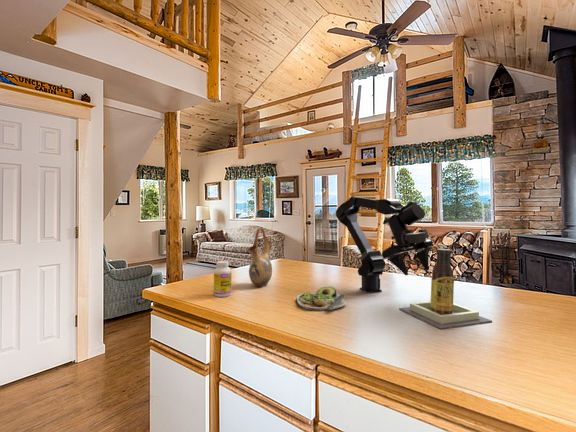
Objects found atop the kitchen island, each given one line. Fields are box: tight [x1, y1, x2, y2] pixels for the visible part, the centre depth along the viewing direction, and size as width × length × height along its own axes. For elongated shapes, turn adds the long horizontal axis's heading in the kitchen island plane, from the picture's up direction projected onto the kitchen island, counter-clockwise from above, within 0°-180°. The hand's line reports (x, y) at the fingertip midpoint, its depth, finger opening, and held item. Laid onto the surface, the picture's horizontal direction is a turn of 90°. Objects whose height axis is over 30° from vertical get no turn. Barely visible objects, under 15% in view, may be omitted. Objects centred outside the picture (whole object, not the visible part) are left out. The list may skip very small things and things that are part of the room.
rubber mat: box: [399, 306, 493, 330], centre depth 98 cm, size 18×18×1 cm
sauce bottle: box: [430, 248, 455, 315], centre depth 98 cm, size 7×6×20 cm
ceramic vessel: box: [247, 227, 273, 288], centre depth 137 cm, size 16×9×25 cm, turn 153°
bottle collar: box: [409, 300, 480, 324], centre depth 98 cm, size 13×13×2 cm
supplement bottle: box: [213, 260, 233, 298], centre depth 123 cm, size 7×7×13 cm
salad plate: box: [295, 286, 347, 311], centre depth 110 cm, size 19×18×5 cm
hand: (417, 272), depth 109 cm, fingers open, 9 cm apart
